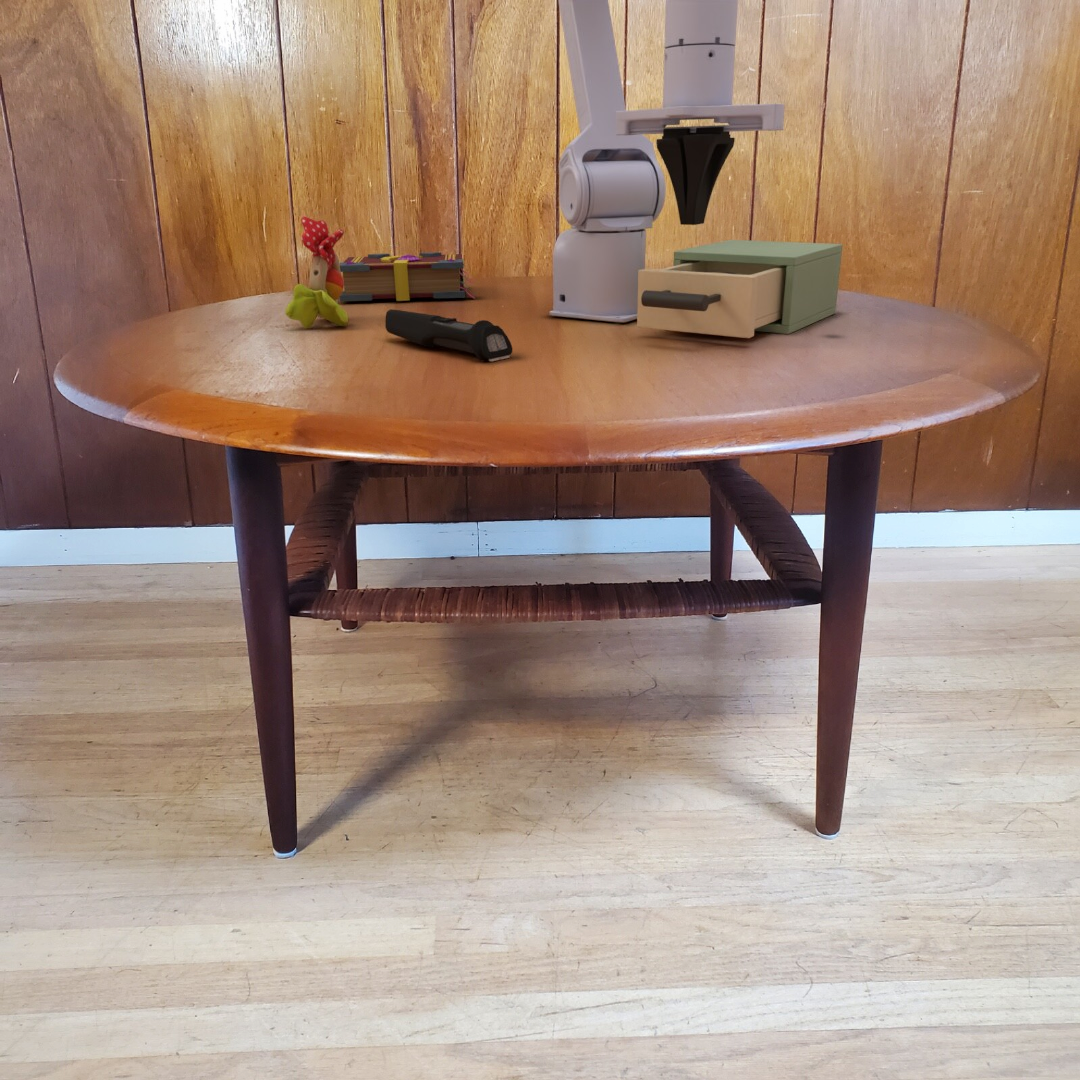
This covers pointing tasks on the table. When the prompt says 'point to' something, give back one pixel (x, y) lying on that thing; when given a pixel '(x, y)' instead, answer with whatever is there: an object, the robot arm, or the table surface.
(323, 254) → the bird rattle
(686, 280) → the drawer
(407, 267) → the decorative book
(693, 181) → the robot arm
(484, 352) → the electric trimmer
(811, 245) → the cabinet
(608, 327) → the table surface
